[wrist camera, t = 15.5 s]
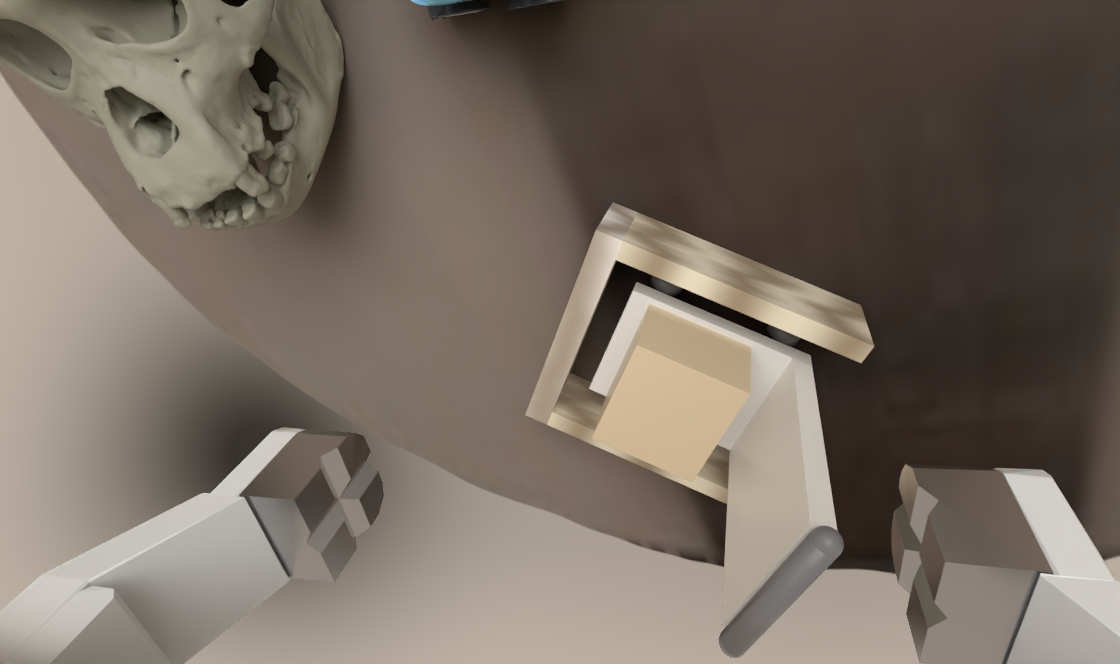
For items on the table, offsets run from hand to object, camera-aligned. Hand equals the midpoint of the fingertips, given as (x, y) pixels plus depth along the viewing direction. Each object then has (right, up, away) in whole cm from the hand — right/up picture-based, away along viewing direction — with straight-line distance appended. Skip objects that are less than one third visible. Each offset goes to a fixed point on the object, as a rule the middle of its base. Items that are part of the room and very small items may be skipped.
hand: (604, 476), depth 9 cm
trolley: (+11, +1, +41) cm, 43 cm away
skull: (-25, +27, +37) cm, 52 cm away
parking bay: (+10, +1, +41) cm, 43 cm away
